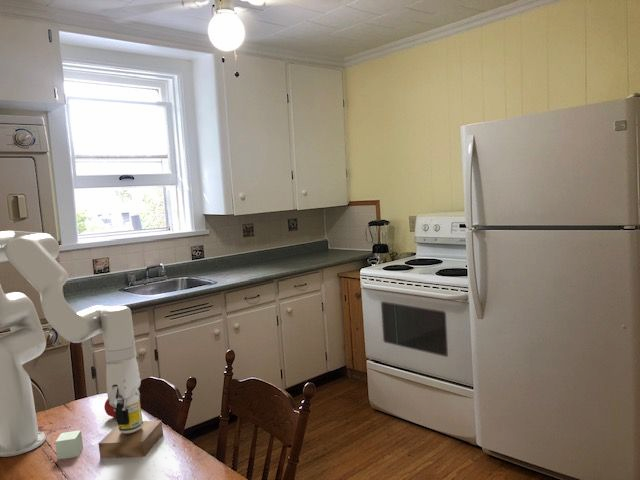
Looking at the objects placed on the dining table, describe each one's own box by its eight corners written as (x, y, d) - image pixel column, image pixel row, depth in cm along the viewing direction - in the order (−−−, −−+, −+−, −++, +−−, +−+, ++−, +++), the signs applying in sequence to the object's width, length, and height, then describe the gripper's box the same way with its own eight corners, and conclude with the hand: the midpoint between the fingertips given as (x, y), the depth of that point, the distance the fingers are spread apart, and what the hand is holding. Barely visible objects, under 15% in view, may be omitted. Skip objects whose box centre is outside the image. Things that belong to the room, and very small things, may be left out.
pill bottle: (126, 423, 142) (121, 385, 141) (147, 423, 141) (142, 384, 140) (114, 434, 136) (108, 394, 135) (136, 434, 135) (131, 393, 134)
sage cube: (57, 459, 135) (55, 441, 135) (63, 450, 140) (61, 432, 139) (77, 456, 136) (75, 438, 135) (83, 447, 141) (80, 430, 140)
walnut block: (100, 457, 134) (98, 443, 133) (122, 435, 146) (120, 422, 145) (144, 456, 133) (142, 441, 132) (163, 434, 144) (161, 420, 144)
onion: (119, 422, 155) (115, 396, 154) (102, 421, 156) (98, 396, 155) (129, 413, 161) (126, 388, 160) (113, 413, 162) (110, 388, 161)
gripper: (123, 344, 146) (131, 405, 147) (90, 365, 128) (99, 434, 130) (148, 342, 145) (156, 404, 147) (118, 363, 128) (127, 433, 129)
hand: (129, 417), depth 138 cm, fingers closed on pill bottle, 6 cm apart
